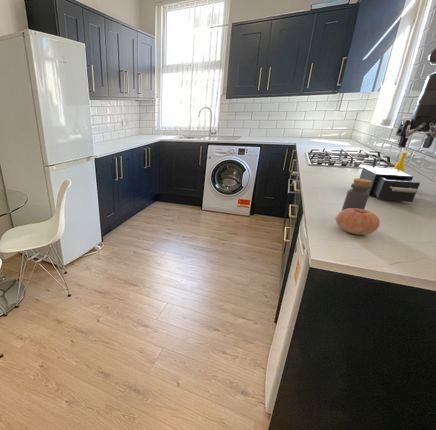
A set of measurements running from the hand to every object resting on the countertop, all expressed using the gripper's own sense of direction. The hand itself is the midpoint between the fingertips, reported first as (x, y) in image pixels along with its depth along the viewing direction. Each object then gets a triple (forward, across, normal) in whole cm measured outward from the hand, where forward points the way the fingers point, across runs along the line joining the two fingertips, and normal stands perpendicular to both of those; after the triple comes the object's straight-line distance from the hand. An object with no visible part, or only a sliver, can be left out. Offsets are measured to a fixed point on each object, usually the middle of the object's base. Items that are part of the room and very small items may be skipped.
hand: (413, 147), depth 110 cm
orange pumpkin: (+23, -36, -34) cm, 54 cm away
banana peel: (+23, +17, +27) cm, 39 cm away
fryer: (+23, +4, +13) cm, 26 cm away
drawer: (+22, +1, +3) cm, 22 cm away
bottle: (+23, -31, -24) cm, 45 cm away
